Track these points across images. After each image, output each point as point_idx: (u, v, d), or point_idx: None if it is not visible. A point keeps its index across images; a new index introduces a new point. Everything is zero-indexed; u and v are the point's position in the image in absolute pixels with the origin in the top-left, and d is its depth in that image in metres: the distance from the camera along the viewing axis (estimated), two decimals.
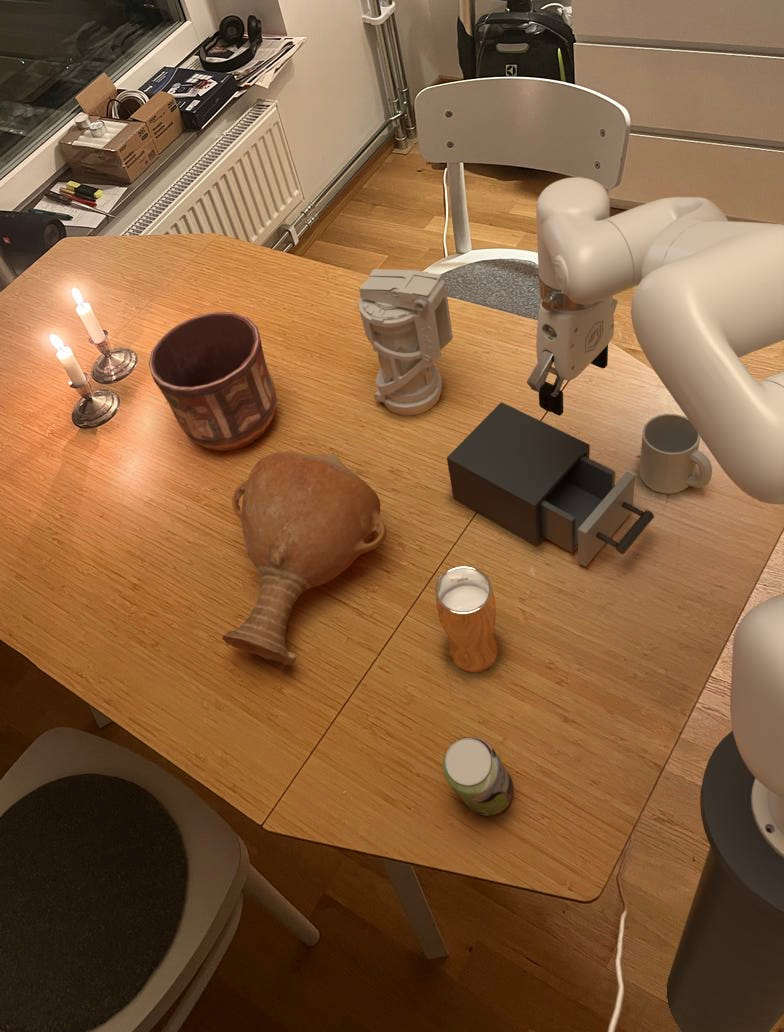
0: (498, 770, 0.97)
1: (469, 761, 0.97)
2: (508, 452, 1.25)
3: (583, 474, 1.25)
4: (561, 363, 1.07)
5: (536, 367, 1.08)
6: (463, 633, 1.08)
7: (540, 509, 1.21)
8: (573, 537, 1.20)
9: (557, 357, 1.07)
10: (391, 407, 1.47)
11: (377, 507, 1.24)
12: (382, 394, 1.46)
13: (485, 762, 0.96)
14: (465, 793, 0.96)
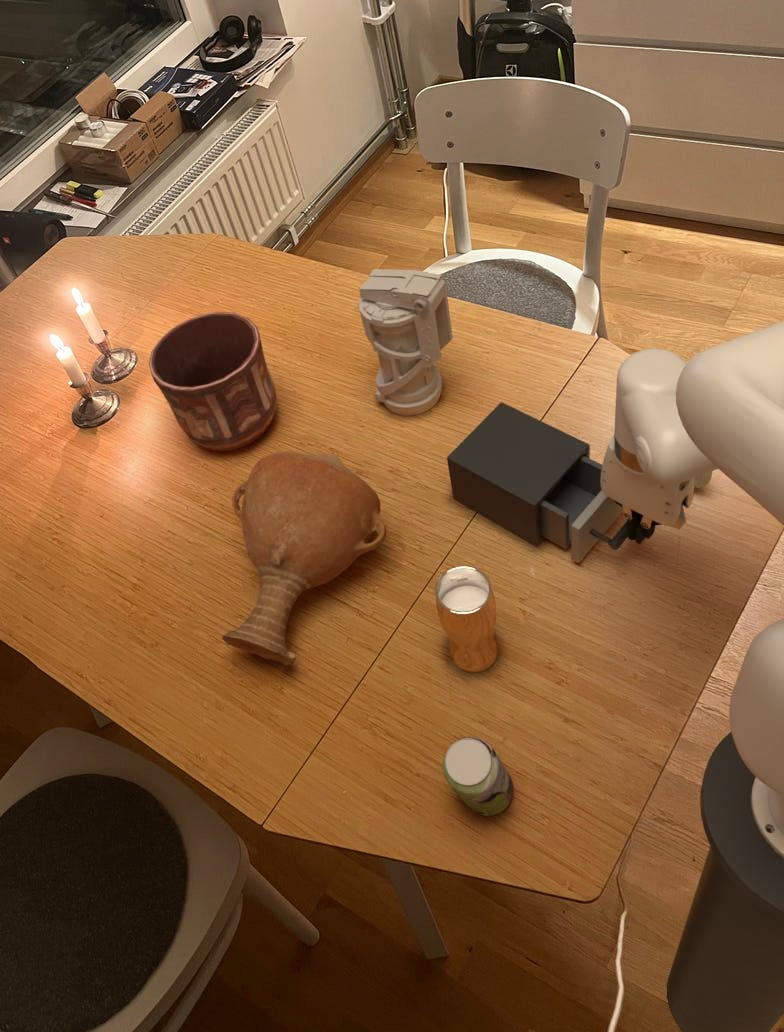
0: (498, 770, 0.97)
1: (469, 761, 0.97)
2: (508, 452, 1.25)
3: (577, 471, 1.26)
4: (691, 494, 1.07)
5: (679, 517, 1.08)
6: (463, 633, 1.08)
7: None
8: (567, 533, 1.21)
9: (690, 493, 1.07)
10: (391, 407, 1.47)
11: (377, 507, 1.24)
12: (382, 394, 1.46)
13: (485, 762, 0.96)
14: (465, 793, 0.96)
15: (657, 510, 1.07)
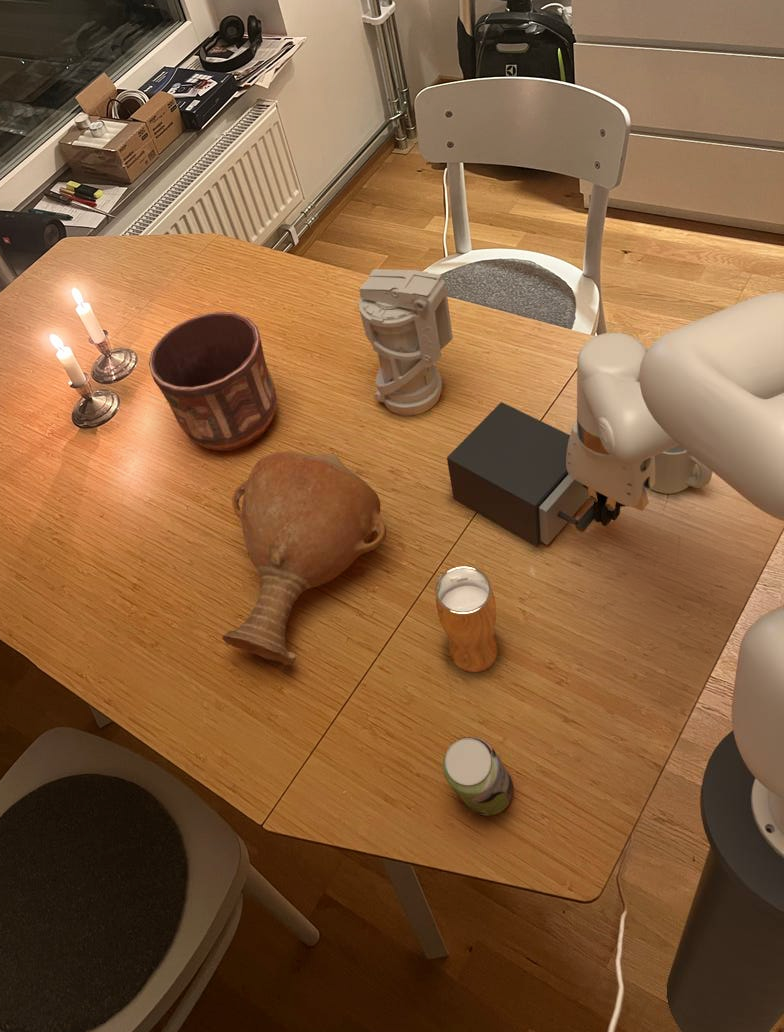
0: (498, 770, 0.97)
1: (469, 761, 0.97)
2: (508, 452, 1.25)
3: None
4: (653, 475, 1.10)
5: (642, 498, 1.11)
6: (463, 633, 1.08)
7: None
8: None
9: (651, 474, 1.10)
10: (391, 407, 1.47)
11: (377, 507, 1.24)
12: (382, 394, 1.46)
13: (485, 762, 0.96)
14: (465, 793, 0.96)
15: (620, 491, 1.10)
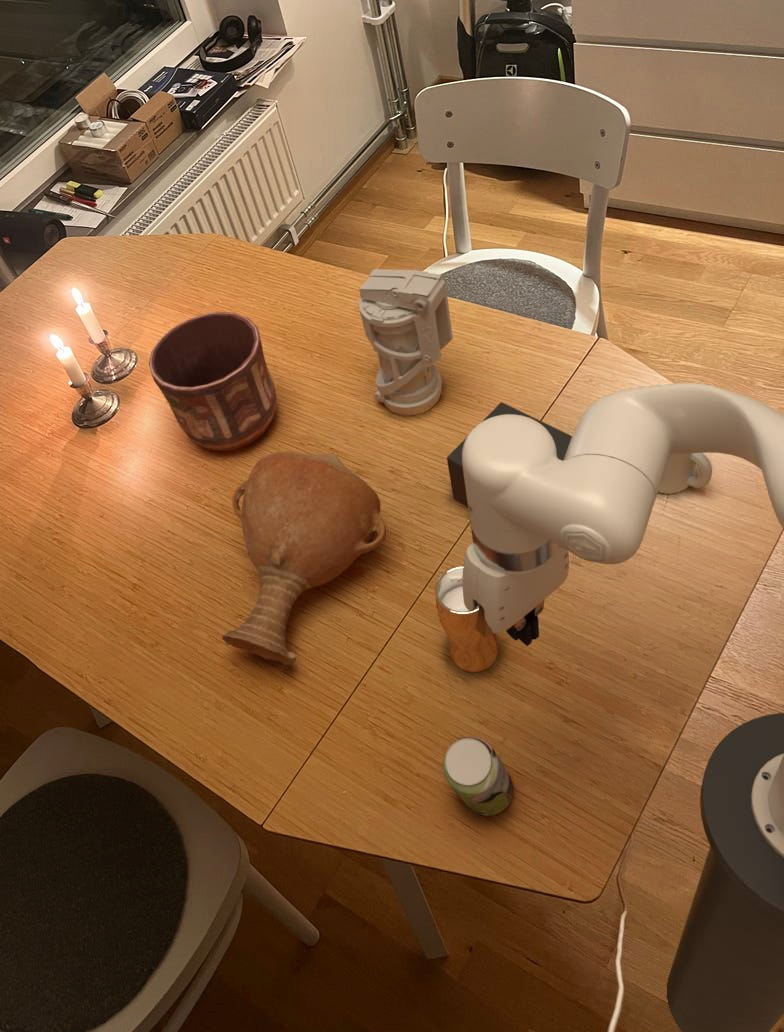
0: (498, 770, 0.97)
1: (469, 761, 0.97)
2: None
3: None
4: None
5: None
6: (463, 633, 1.08)
7: None
8: None
9: None
10: (391, 407, 1.47)
11: (377, 507, 1.24)
12: (382, 394, 1.46)
13: (485, 762, 0.96)
14: (465, 793, 0.96)
15: (558, 575, 0.86)
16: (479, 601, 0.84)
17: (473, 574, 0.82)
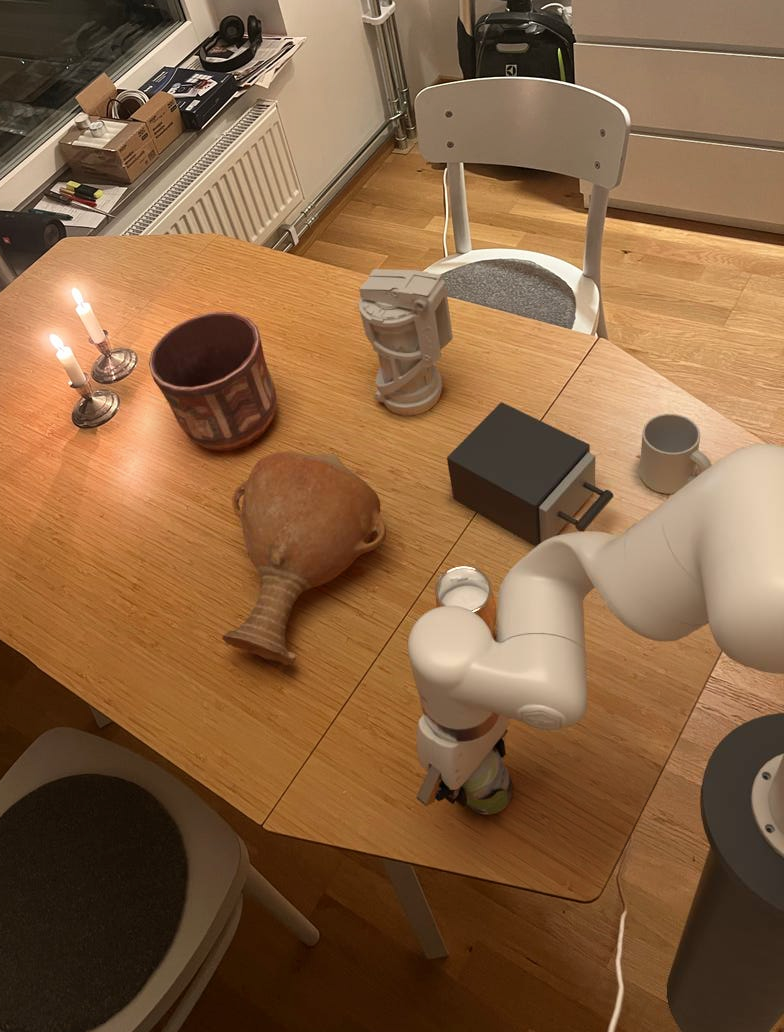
0: (499, 765, 0.97)
1: None
2: (508, 452, 1.25)
3: None
4: None
5: None
6: None
7: None
8: None
9: None
10: (391, 407, 1.47)
11: (377, 507, 1.24)
12: (382, 394, 1.46)
13: (486, 756, 0.96)
14: (466, 788, 0.96)
15: (502, 726, 0.93)
16: (435, 766, 0.90)
17: (427, 745, 0.88)
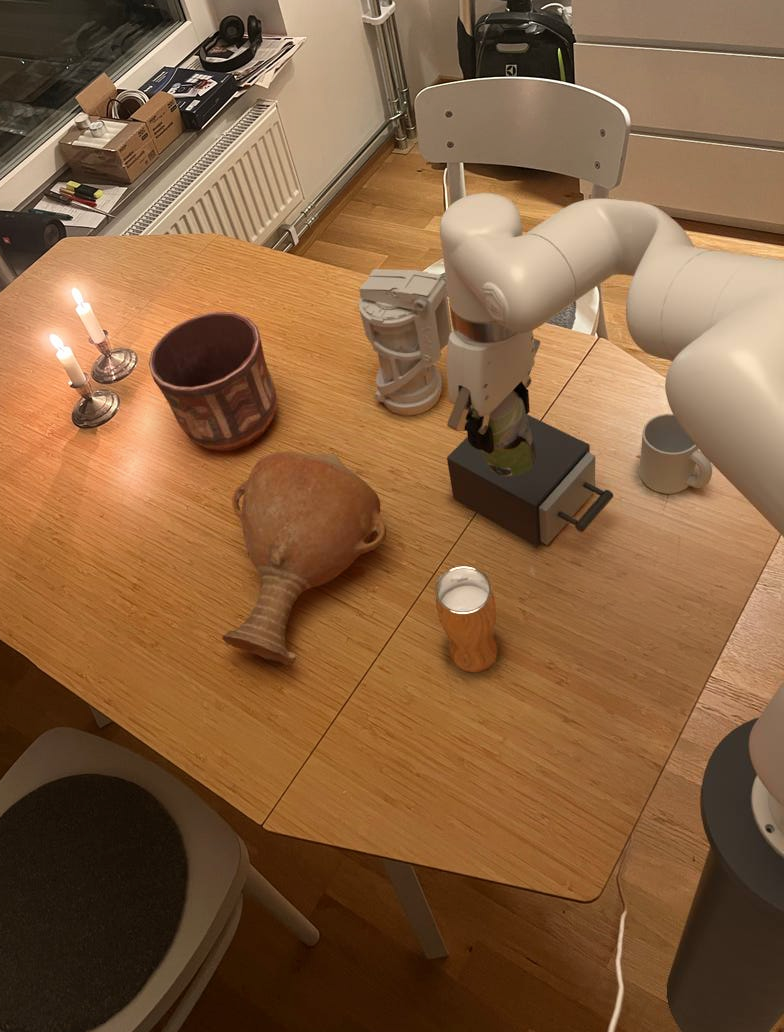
0: (523, 409, 1.02)
1: None
2: None
3: None
4: None
5: None
6: (463, 633, 1.08)
7: None
8: None
9: None
10: (391, 407, 1.47)
11: (377, 507, 1.24)
12: (382, 394, 1.46)
13: (511, 399, 1.01)
14: (492, 430, 1.01)
15: (527, 358, 0.98)
16: (465, 384, 0.95)
17: (458, 356, 0.93)
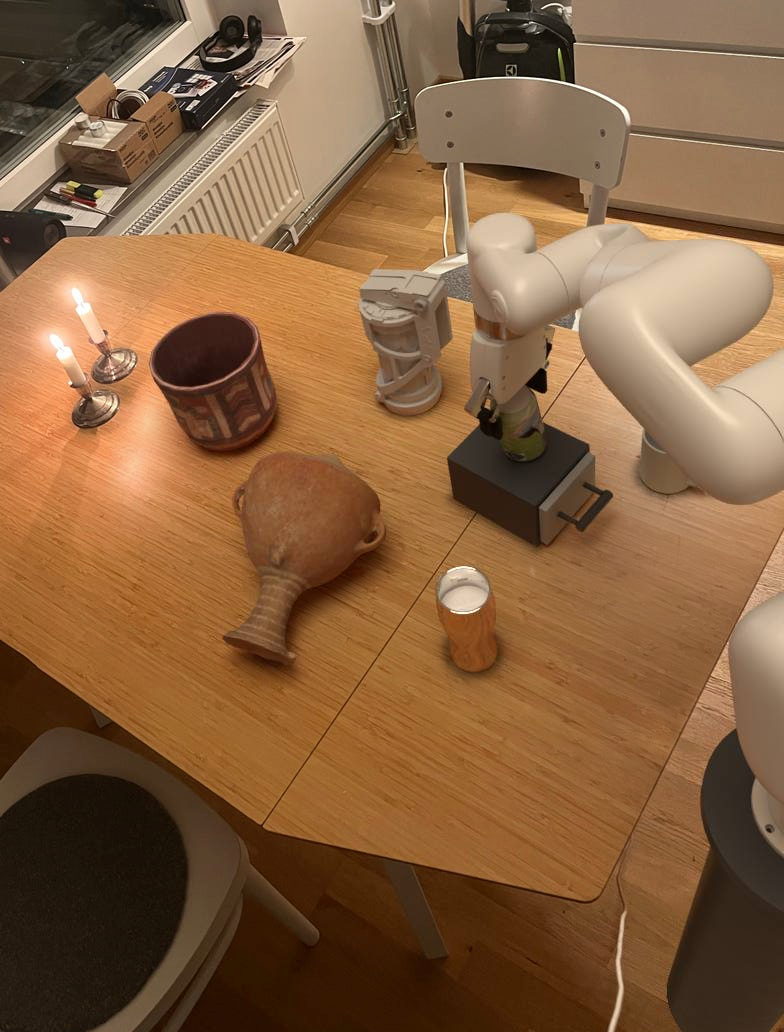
0: (536, 404, 1.16)
1: (512, 397, 1.16)
2: None
3: None
4: None
5: (546, 329, 1.15)
6: (463, 633, 1.08)
7: None
8: None
9: None
10: (391, 407, 1.47)
11: (377, 507, 1.24)
12: (382, 394, 1.46)
13: (526, 396, 1.16)
14: (509, 422, 1.16)
15: (540, 354, 1.13)
16: (485, 376, 1.09)
17: (480, 352, 1.07)
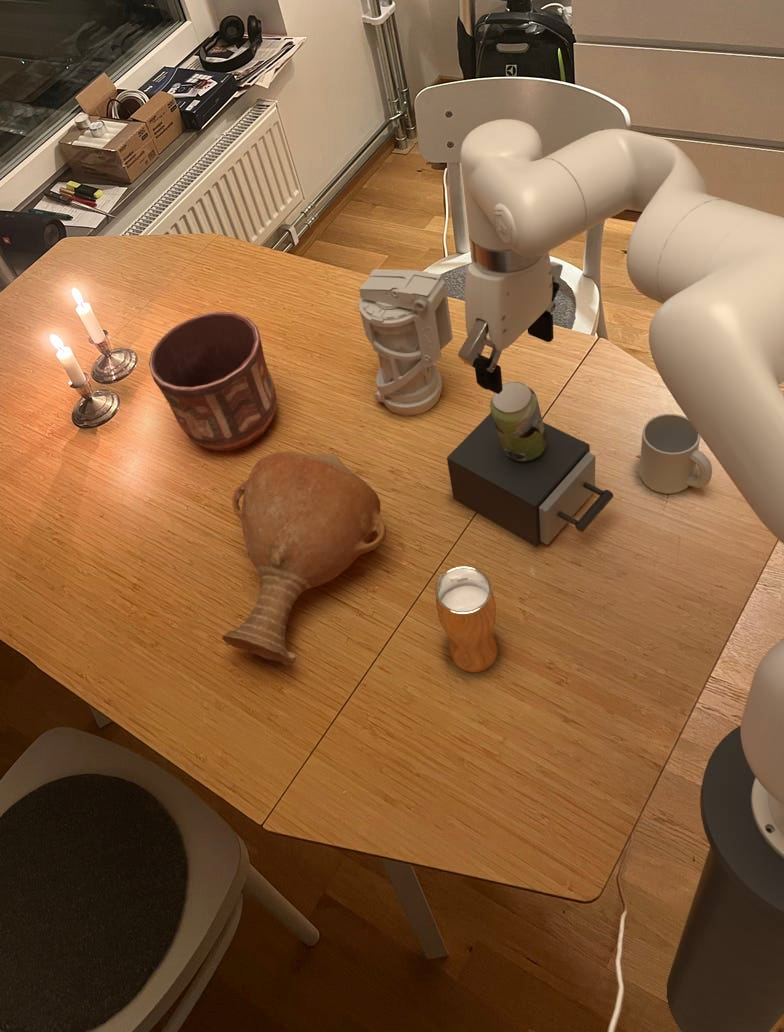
0: (537, 404, 1.16)
1: (513, 396, 1.17)
2: None
3: None
4: None
5: (552, 266, 1.01)
6: (463, 633, 1.08)
7: None
8: None
9: None
10: (391, 407, 1.47)
11: (377, 507, 1.24)
12: (382, 394, 1.46)
13: (526, 395, 1.16)
14: (509, 422, 1.16)
15: (545, 294, 0.98)
16: (483, 316, 0.95)
17: (476, 287, 0.93)
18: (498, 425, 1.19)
